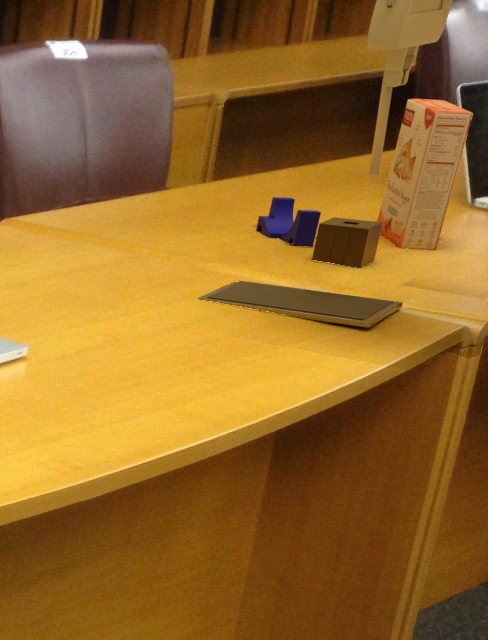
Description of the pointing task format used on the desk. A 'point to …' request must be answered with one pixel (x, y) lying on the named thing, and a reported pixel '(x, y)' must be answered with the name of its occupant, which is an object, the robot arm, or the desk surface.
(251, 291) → the tablet
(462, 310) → the desk surface
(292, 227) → the cable clip
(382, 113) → the stylus
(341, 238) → the pen stand
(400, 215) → the cracker box
